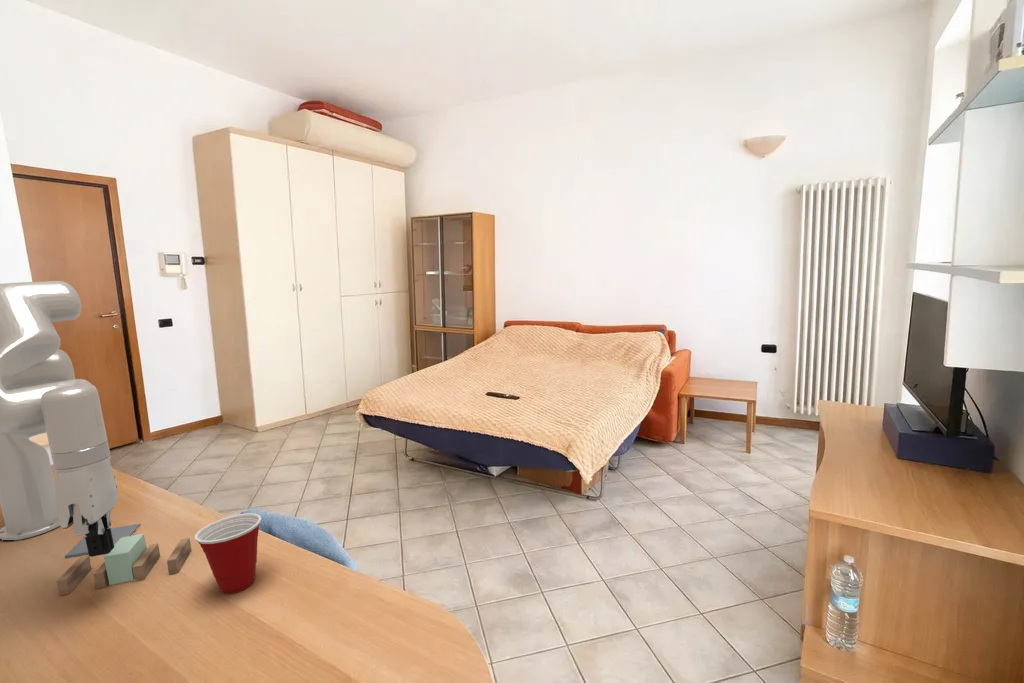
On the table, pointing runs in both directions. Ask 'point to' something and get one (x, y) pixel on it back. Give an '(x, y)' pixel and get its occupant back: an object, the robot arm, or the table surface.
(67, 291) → the robot arm
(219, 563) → the plastic cup
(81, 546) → the pad
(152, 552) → the rack
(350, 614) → the table surface
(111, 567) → the block
